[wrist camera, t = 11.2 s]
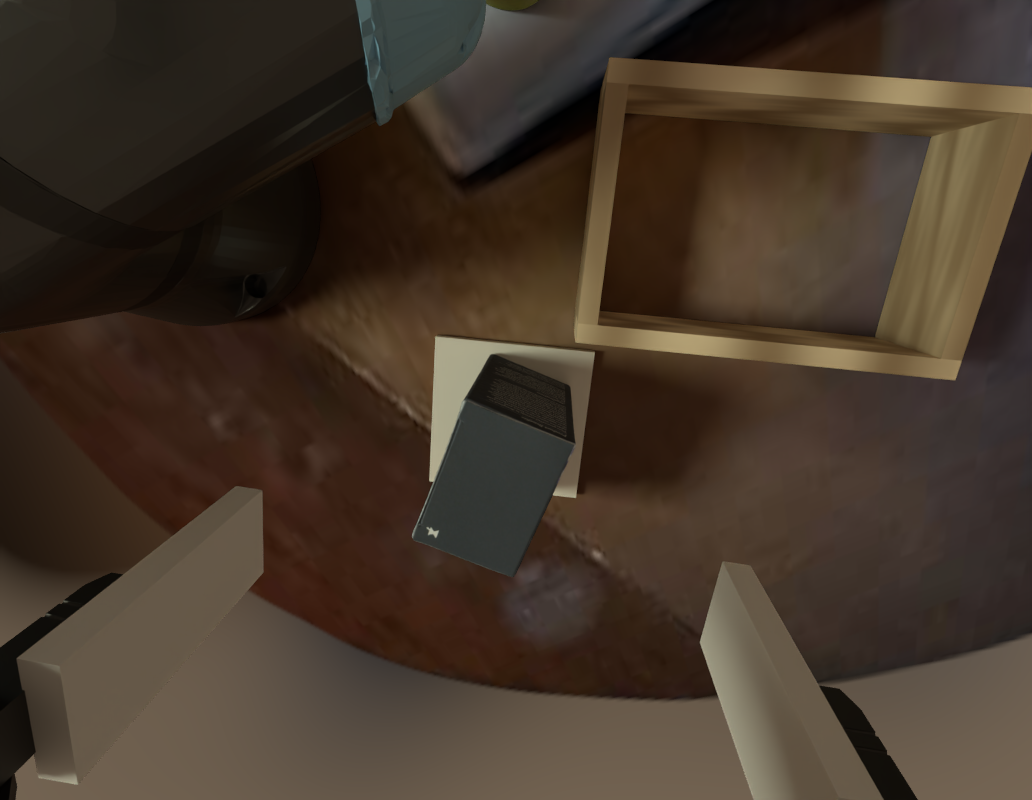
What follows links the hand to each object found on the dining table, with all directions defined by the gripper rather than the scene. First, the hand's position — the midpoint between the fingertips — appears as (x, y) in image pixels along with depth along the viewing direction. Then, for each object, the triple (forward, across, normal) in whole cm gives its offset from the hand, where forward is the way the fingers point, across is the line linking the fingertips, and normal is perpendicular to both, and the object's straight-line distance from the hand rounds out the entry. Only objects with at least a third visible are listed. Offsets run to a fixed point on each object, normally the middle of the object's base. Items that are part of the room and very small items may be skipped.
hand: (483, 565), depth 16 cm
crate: (+21, +12, +11) cm, 26 cm away
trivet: (+21, -1, -3) cm, 21 cm away
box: (+20, -1, -3) cm, 21 cm away
